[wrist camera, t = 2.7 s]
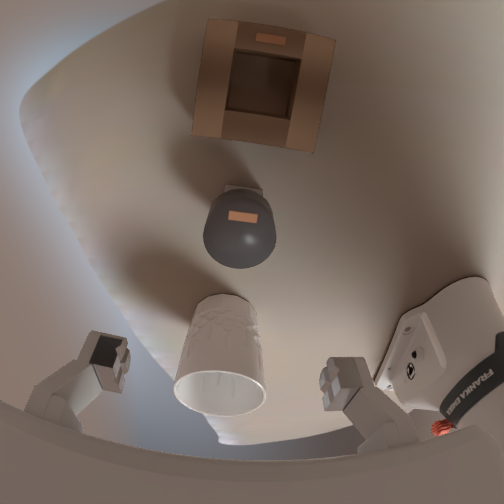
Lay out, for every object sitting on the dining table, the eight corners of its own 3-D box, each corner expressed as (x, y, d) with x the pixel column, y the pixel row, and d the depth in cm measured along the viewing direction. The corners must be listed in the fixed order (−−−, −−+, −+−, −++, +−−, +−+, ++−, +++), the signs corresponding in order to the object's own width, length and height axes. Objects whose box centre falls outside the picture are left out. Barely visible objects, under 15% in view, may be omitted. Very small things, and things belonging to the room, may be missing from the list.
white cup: (270, 295, 30) (277, 376, 21) (253, 345, 34) (255, 420, 26) (191, 282, 29) (173, 363, 21) (186, 335, 33) (173, 409, 25)
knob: (264, 232, 26) (269, 273, 21) (210, 225, 26) (200, 264, 21) (275, 180, 24) (282, 210, 19) (216, 172, 23) (206, 200, 18)
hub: (303, 141, 22) (313, 153, 19) (200, 127, 21) (191, 135, 18) (321, 46, 18) (336, 39, 14) (215, 29, 17) (208, 18, 14)
